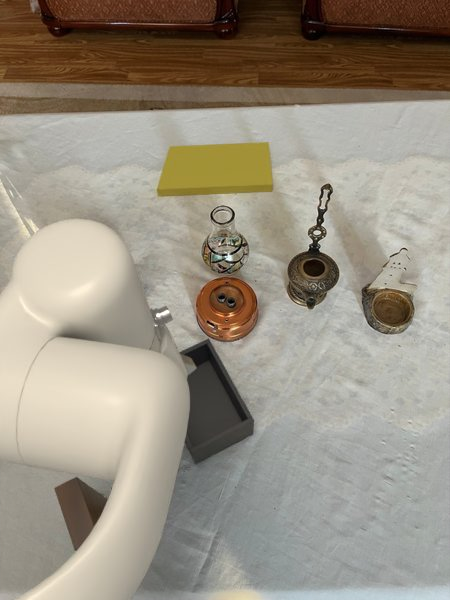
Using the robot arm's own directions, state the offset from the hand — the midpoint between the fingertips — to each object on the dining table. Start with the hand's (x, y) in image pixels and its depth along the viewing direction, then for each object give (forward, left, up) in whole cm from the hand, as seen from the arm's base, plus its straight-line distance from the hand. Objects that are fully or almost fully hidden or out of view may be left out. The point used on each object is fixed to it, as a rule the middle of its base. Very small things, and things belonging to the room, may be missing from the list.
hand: (148, 411), depth 58 cm
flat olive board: (+33, +53, -29) cm, 69 cm away
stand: (-13, -3, -29) cm, 32 cm away
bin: (+8, +7, -29) cm, 31 cm away
